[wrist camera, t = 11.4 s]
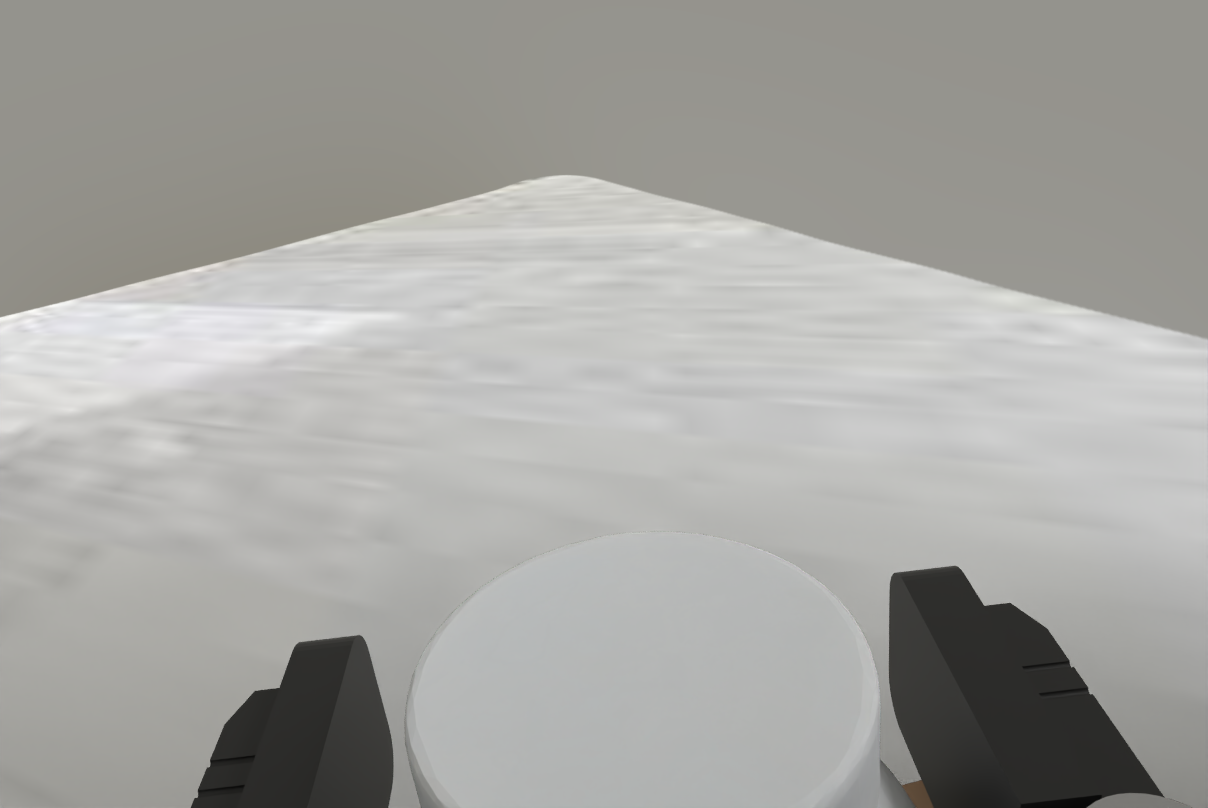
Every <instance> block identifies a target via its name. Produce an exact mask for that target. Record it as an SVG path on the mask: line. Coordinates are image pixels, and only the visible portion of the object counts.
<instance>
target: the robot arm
mask: <svg viewBox="0 0 1208 808" xmlns="http://www.w3.org/2000/svg"><path fill="white" fill-rule="evenodd" d="M889 683H890V691H891V697H892V702H893V707H894V711H895V715H896V719H897V722H898V725H899V727H900V730H901V732H902V735H903V737H904V739H905V742H906V744H907V747H908V749H909V751H910V754H911V756H912V758H913V761H914V763H915V765H916V768H917V770H918V772H919V775H920V777H921V779H922V782H923V784H924V786H925V789H926V791H927V793H928V796H929V798H930V800H931V803H932V805H933V807H934V808H1191V807H1190V806H1187V805H1185V804H1182V803H1180V802H1177V801H1175V800H1172V799H1168V798H1165V797H1164V796H1163V795H1162V793H1161V792H1160V790H1159V789H1158V788H1157V786H1156V785H1155V783H1154V782H1153V780H1152V779H1151V778H1150V776H1149V775H1148V773H1147V772H1146V770H1145V769H1144V767H1143V766H1142V765H1141V763H1140V762H1139V760H1138V759H1137V757H1136V756H1135V754H1134V753H1133V752H1132V750H1131V749H1130V747H1129V746H1128V744H1127V743H1126V742H1125V740H1124V739H1123V737H1122V736H1121V734H1120V733H1119V731H1118V730H1117V729H1116V727H1115V726H1114V724H1113V723H1112V721H1111V720H1110V718H1109V717H1108V716H1107V714H1106V713H1105V711H1104V710H1103V708H1102V707H1101V705H1100V704H1099V703H1098V701H1097V700H1096V698H1095V697H1094V695H1093V694H1091V695H1090V694H1089V692H1088V687H1087V685H1086V684H1085V682H1084V681H1083V680H1082V678H1081V677H1080V675H1079V674H1078V672H1077V671H1076V669H1075V668H1074V667H1072V668H1071V666H1070V662H1069V659H1068V658H1067V657H1066V655H1065V654H1064V652H1063V651H1062V649H1061V648H1060V646H1059V645H1058V644H1057V642H1056V641H1055V639H1054V638H1053V636H1052V635H1051V633H1050V632H1049V631H1048V629H1047V628H1045V627H1044V626H1043V625H1041V624H1040V623H1038V622H1037V621H1035V620H1034V619H1033V618H1031V617H1030V616H1028V615H1027V614H1025V613H1024V612H1022V611H1021V610H1020V609H1018V608H1017V607H1015V606H1014V605H1012V604H1011V603H1006V604H997V605H989V606H984V605H983V603H982V602H981V600H980V599H979V597H978V595H977V594H976V592H975V591H974V589H973V587H972V586H971V584H970V583H969V581H968V579H967V578H966V576H965V575H964V573H963V572H962V570H961V569H960V568H959V567H957V566H949V567H941V568H932V569H924V570H916V571H907V572H899V573H894V574H893V575H892V577H891V581H890V608H889ZM210 763H211V765H210V767H209V768H207V769H206V772H205V774H204V777H203V779H202V781H201V784H200V786H199V789H198V798H195V799H194V801H193V803H192V806H191V808H388V806H389V800H390V795H391V790H392V783H393V747H392V740H391V734H390V730H389V726H388V722H387V718H386V714H385V711H384V707H383V703H382V699H381V695H380V692H379V688H378V684H377V680H376V677H375V673H374V669H373V665H372V661H371V658H370V654H369V650H368V647H367V644H366V642H365V640H364V638H363V637H362V636H360V635H357V636H349V637H340V638H332V639H324V640H315V641H307V642H299V643H298V644H296V646H295V647H294V649H293V652H292V654H291V657H290V660H289V663H288V666H287V668H286V671H285V674H284V677H283V680H282V682H281V685H280V688H276V689H268V690H259V691H255V692H254V693H253V694H252V695H251V696H250V697H249V698H248V699H247V700H246V702H245V703H244V704H243V705H242V706H241V707H240V708H239V709H238V710H237V711H236V713H235V714H234V715H233V716H232V717H231V718H230V719H229V720H228V721H227V722H226V724H225V725H224V728H223V730H222V732H221V735H220V737H219V740H218V742H217V745H216V747H215V750H214V752H213V754H212V757H211V759H210Z"/></svg>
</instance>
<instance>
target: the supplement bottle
mask: <svg viewBox="0 0 1208 808" xmlns="http://www.w3.org/2000/svg"><path fill="white" fill-rule="evenodd" d="M880 716H881V712H880V688H879V680H878V673H877V670H876V666H875V663H874V660H873V656H872V653H871V650H870V647H869V645H868V642H867V640H866V638H865V636H864V634H863V632H862V631H861V629H860V627H859V625H858V623H857V622H856V620H855V619H854V617H853V616H852V614H851V613H850V612H849V610H848V609H847V608H846V607H845V606H844V605H843V604H842V603H841V601H840V600H839V599H838V598H837V597H836V596H835V595H834V594H833V593H832V592H831V591H830V590H829V589H828V588H827V587H825V586H824V585H823V584H822V583H820V582H819V581H818V580H817V579H815V578H814V577H812V576H811V575H809V574H807V573H806V572H804V571H803V570H801V569H800V568H798V567H797V566H795V565H794V564H792V563H791V562H788V561H786V560H784V559H782V558H780V557H778V556H776V555H773V554H771V553H769V552H767V551H765V550H762V549H759V548H756V547H753V546H750V545H747V544H744V543H740V542H736V541H732V540H728V539H724V538H720V537H715V536H709V535H704V534H696V533H685V532H666V531H650V532H633V533H621V534H613V535H608V536H600V537H596V538H593V539H589V540H585V541H581V542H577V543H572V544H569V545H566V546H563V547H560V548H557V549H554V550H552V551H549V552H546V553H543V554H541V555H538V556H535V557H533V558H531V559H529V560H527V561H525V562H522V563H520V564H518V565H517V566H515V567H513V568H511V569H509V570H507V571H505V572H503V573H502V574H500V575H499V576H497V577H496V578H494V579H493V580H491V581H490V582H488V583H487V584H485V585H484V586H482V587H481V588H480V589H478V590H477V591H476V592H475V593H474V594H472V595H471V596H470V597H469V598H467V599H466V600H465V601H464V602H463V603H462V604H461V605H460V606H459V607H458V608H457V609H456V610H454V611H453V612H452V613H451V615H450V616H449V617H448V618H447V619H446V620H445V622H444V623H443V624H442V625H441V626H440V627H439V629H438V630H437V631H436V633H435V634H434V636H433V637H432V639H431V641H430V642H429V644H428V645H427V647H426V648H425V650H424V652H423V654H422V656H421V658H420V660H419V662H418V665H417V667H416V669H415V671H414V674H413V676H412V680H411V684H410V687H409V691H408V695H407V703H406V711H405V745H406V749H407V754H408V759H409V764H410V768H411V771H412V775H413V779H414V782H415V786H416V790H417V794H418V797H419V801H420V805H421V808H916V807H915V805H914V804H913V802H912V800H911V799H910V797H909V796H908V794H907V793H906V791H905V790H904V788H903V787H902V786H901V784H900V783H899V781H898V780H897V779H896V777H895V776H894V775H893V774H892V772H891V771H890V770H889V769H888V768H887V766H886V765H885V764H884V763H883V762H882V761H881V760H880Z"/></svg>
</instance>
